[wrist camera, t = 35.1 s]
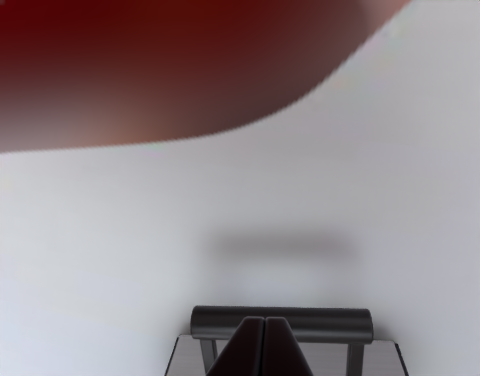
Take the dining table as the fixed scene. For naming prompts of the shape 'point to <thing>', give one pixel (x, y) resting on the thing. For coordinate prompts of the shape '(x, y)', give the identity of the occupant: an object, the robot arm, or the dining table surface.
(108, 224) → the dining table surface
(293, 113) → the dining table surface
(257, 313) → the grey pull-out drawer
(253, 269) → the dining table surface
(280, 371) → the robot arm
